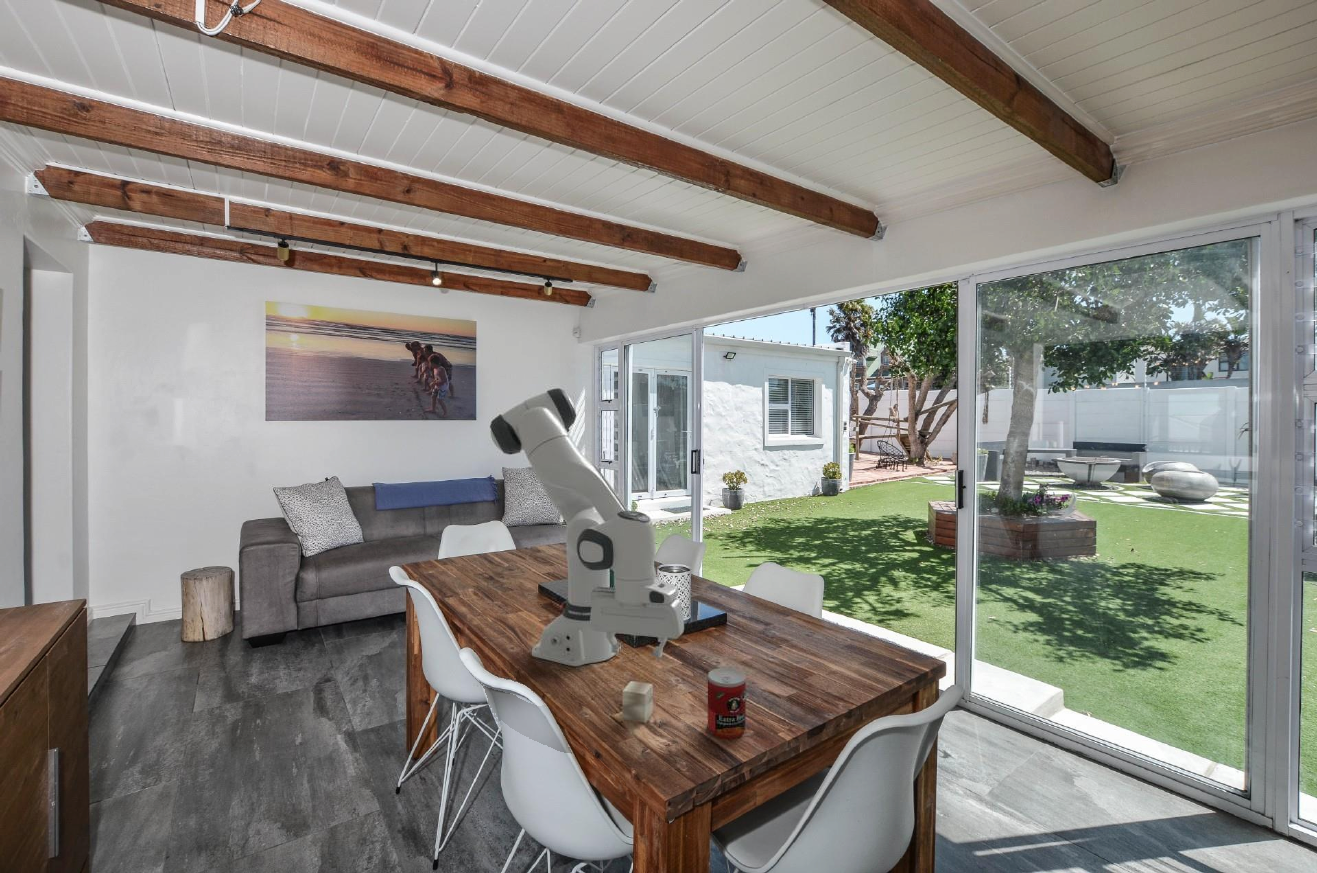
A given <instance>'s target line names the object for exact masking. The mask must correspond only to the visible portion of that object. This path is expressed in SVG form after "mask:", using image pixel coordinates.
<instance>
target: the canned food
mask: <svg viewBox="0 0 1317 873" xmlns="http://www.w3.org/2000/svg"><path fill="white" fill-rule="evenodd" d="M746 696H747V680H746V675H745V673H743V671H741V670H739V669H736V668H731V667H719V668H715V669H712V670H710V671H709V672H708V673H707V728H708V731H709V732H710V733H711V734H712V735H713V736H715V737H717V738H720V739H725V740H727V739H729V740H730V739H736V738H739V737H741V736H742V735H743V734H744V733H745V731H746V726H747V724H746V723H747V722H746V721H747V720H746V717H747V716H746V713H747V712H746V710H747V708H746V706H747V705H746V704H747V702H746V699H747V697H746Z"/></svg>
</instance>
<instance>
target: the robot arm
mask: <svg viewBox="0 0 1317 873" xmlns="http://www.w3.org/2000/svg"><path fill="white" fill-rule="evenodd" d="M576 409H577V408H576V405H575V403H574V400H573V399H572V397H571V396H570V395H569V394H568V393H566V392H565V391H564V389H562V388H557V387H556V388H553V389H549V390H547V391H546V392H544V393H543V392H542V393H540V394H538V395H535V396H533V397H530V398H528V399H525V400H524V401H523V402H521V403H519V404H517V405H515V406H514V407H511V409H508V410H507V411H506V412H504V413H502V414H499V415H497V416H496V417H495V418H494V419H492V420H491V423H490V425H489V428H490V437H491V440H492V442H493V444H494V445H495V446H496V447H497V449H499V450H500V451H501V452H503V454H505V455H510V456H511V455H515V454H519V453H521V451H524V453H525V456H526V458H527V460H528V462H529V464H530V466H531V467H532V469H533V471H534V473H535V474H536V476H537V477H538V480H539V481H540V483H541V485H542V488H543V489H544V491H545V493H546V494H547V497H548V499H549V500H550V502H551V503H552V504H553V506H554V507H555V509H556V510H557V511H558V512H559V514H560V516H561V517H562V519H563V520H564V522H565V524H566V528H565V529H566V530H565V547H566V550H565V551H566V561H567V574H568V576H567V577H568V579H567V583H568V584H567V585H568V586H567V590H568V594H567V595H568V597H567V599H566V600H565V601H563V602H562V604H560V605H559V610H560V611H561V610H562V613H561V614H560V615H558V616H557V617H556V618H555V619H554V620H552V621H551V622H550V623H548V624H547V625H546V626H545V627H544V629H543V630H542V632H541V636H540V641H539V642H537V644H535V646H533V648H532V650H531V656H532V657H535V658H538V659H542V660H546V661H551V662H553V663H554V662H555V663H559V664H563V665H567V666H571V667H579V666H584V665H586V664H593V663H600V662H603V661H607V660H609V659H611V658H612V657H614V656H615V655H616V654H620V652H621V651H622V647H621V646H622V643H621V642H618V640H617V638H616V636H615V635H616V634H624V635H632V636H633V635H634V636H643V637H651V638H652V637H654V638H657V642H659V643H660V644H659V645H658V646H655V647H654V648H653V655H652V656H653V657H654V658H658V659H662V657H663V654H664V652H663V651H664V650H663V649H664V646H665V645H666V643H667V641H668V639H674V640H677V639H678V638H680V636H682V634H683V633H684V630H685V622H684V620H685V619H684V613H683V606H682V603H681V601H680V600H679V599H678V598H677V597H678V596H679V588H678V587H677V586H676V585H673V584H671V583H669V582H666V581H664V580H661V579H659V578H658V577H657V572H656V568H655V557H656V536H655V529H654V524H653V522H652V519H651V517H650V516H649V515H647V514H646V513H644V512H640V511H636V510H629V509H628V507H627V506H626V505H625V504H624V502H623V501H622V499H621V498H620V497H619V495H618V494H617V493H616V491H615V489H614V488H613V486H612V485H611V483H609V481H608V480H607V479H606V477H605V476H604V474H603V473H602V472H601V471H600V469H599V468H597V467H596V466H595V465H594V464H593V463H592V462H590V461H589V459H587V458H586V457H585V455H583V453H582V451H581V450H580V449H579V448H578V447H577V446H576V443H575V442H574V440H573V439H572V437H571V435H570V434H569V432H570V428H571V427H572V425H574V423H575V421H576V418H577V411H576ZM610 570H612V571H613V580H614V581H613V586H614V587H612V586H611V587H610V584H611V582H610V576H611V572H610Z"/></svg>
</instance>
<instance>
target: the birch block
mask: <svg viewBox="0 0 1317 873" xmlns="http://www.w3.org/2000/svg"><path fill="white" fill-rule="evenodd" d="M653 712H654V684H653V683H648V682H641V681H640V682H639V681H633V680H631V681H630V682H628V684H627V685H626V686H625V688H624V689H623V690H622V720H627V721H632V722H637V723H638V722H639V723H644V724H645V723H646V722H647V721H648V720H649V718H650V716H652V714H653Z"/></svg>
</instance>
